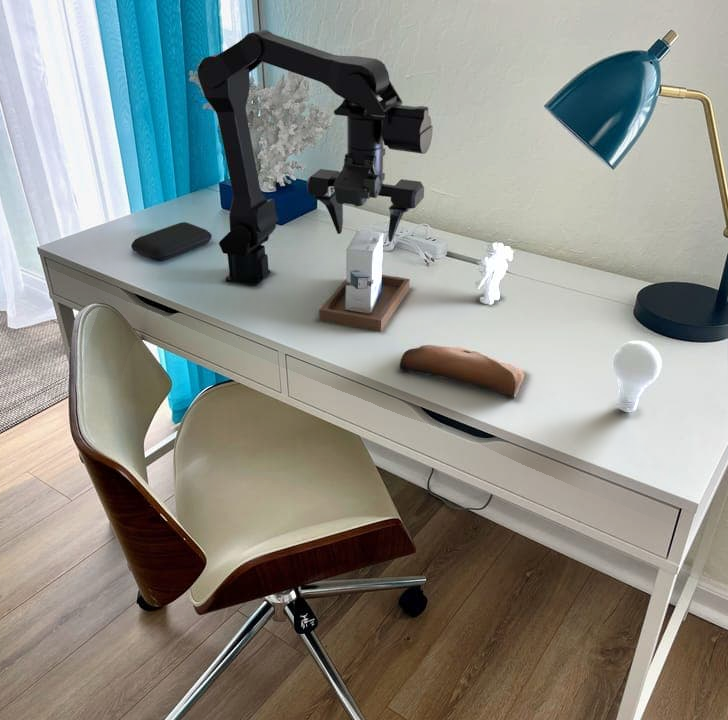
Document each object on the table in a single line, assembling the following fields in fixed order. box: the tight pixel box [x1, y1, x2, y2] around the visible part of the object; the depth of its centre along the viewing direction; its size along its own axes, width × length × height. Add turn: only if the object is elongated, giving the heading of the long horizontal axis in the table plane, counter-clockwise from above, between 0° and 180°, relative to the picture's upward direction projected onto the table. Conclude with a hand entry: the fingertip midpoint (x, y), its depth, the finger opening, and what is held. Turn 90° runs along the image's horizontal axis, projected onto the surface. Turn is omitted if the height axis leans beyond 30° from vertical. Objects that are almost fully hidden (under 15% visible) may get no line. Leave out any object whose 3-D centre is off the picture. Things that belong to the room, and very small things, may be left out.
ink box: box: [345, 229, 384, 313], centre depth 128 cm, size 9×5×12 cm, turn 168°
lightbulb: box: [612, 340, 662, 413], centre depth 102 cm, size 6×6×11 cm
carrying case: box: [131, 221, 213, 262], centre depth 150 cm, size 11×3×15 cm
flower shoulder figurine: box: [474, 241, 514, 305], centre depth 130 cm, size 9×4×12 cm, turn 140°
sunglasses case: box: [399, 344, 526, 399], centre depth 111 cm, size 18×7×7 cm
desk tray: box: [318, 274, 411, 332], centre depth 131 cm, size 11×17×2 cm
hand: (364, 236), depth 125 cm, fingers open, 9 cm apart
